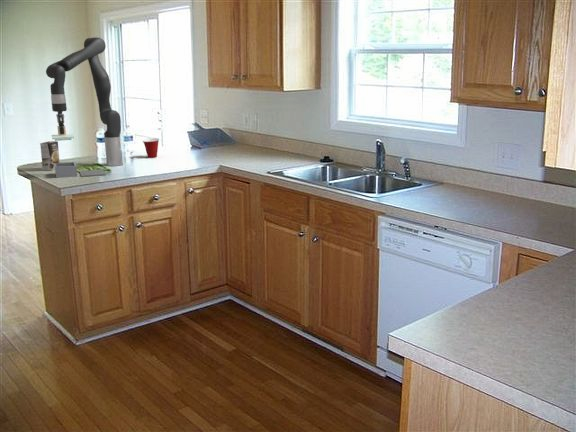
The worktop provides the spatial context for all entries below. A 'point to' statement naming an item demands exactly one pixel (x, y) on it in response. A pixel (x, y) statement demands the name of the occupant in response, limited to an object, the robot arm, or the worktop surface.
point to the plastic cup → (151, 147)
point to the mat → (92, 173)
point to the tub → (65, 169)
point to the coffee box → (49, 155)
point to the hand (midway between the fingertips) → (62, 133)
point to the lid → (62, 135)
